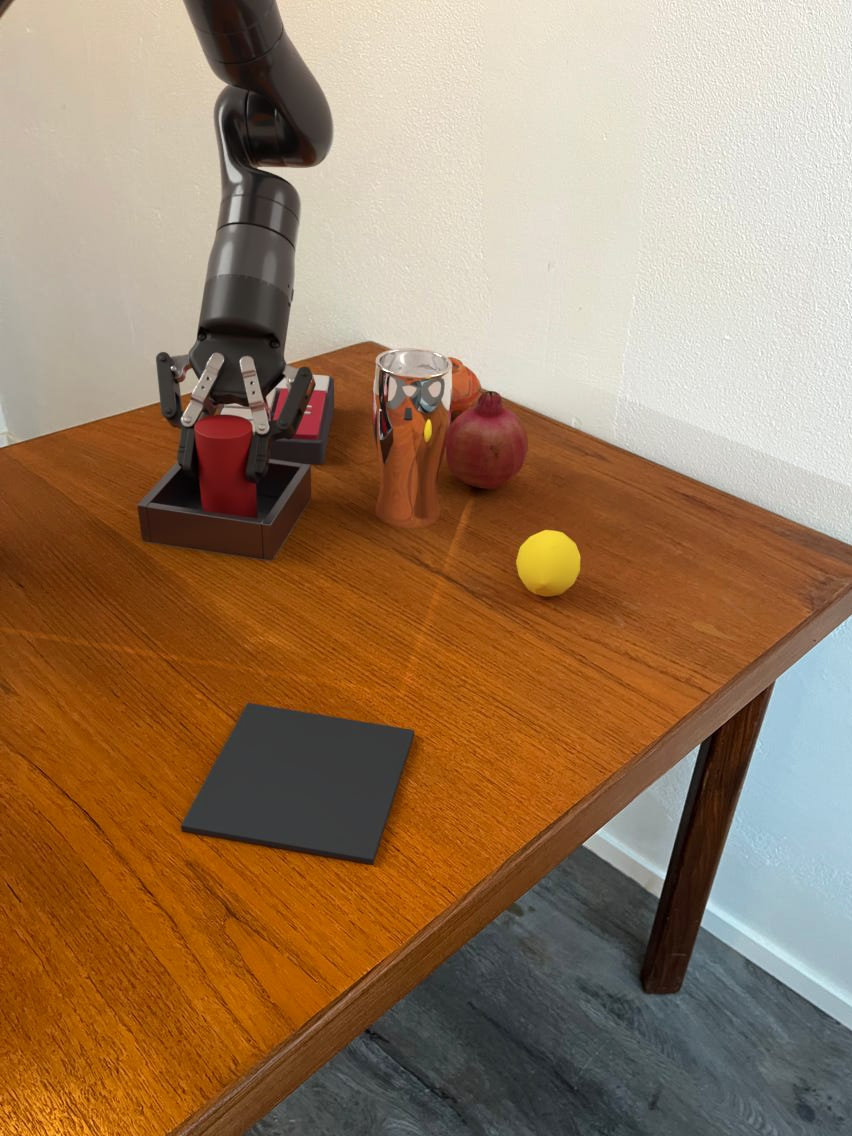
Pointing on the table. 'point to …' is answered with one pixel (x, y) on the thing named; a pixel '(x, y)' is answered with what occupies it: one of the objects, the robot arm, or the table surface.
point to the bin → (183, 523)
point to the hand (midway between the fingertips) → (221, 476)
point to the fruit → (486, 444)
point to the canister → (225, 465)
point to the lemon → (548, 563)
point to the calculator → (313, 425)
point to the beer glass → (410, 433)
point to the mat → (303, 783)
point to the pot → (463, 386)
